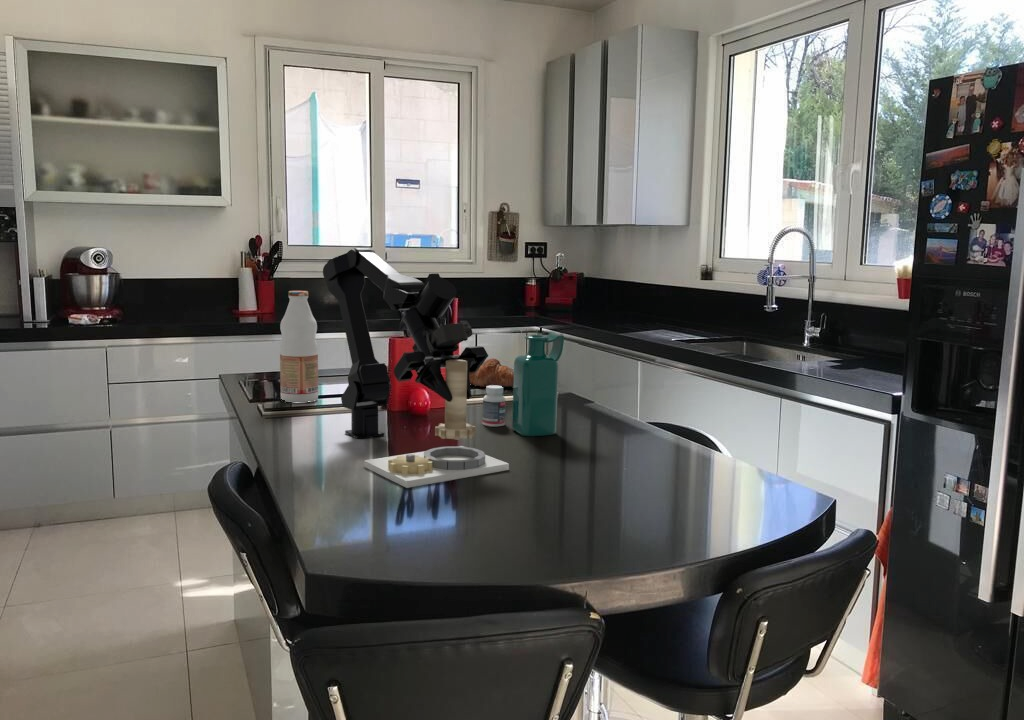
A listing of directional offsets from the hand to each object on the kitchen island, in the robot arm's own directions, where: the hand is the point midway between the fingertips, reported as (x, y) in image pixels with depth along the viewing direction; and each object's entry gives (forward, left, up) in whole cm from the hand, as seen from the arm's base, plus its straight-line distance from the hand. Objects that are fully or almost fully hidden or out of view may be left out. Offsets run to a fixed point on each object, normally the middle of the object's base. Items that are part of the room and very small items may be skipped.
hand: (460, 399), depth 162 cm
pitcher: (-17, +32, -14) cm, 38 cm away
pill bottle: (-28, +28, -14) cm, 42 cm away
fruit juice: (-76, +1, -14) cm, 77 cm away
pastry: (-71, +57, -14) cm, 92 cm away
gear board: (-3, -3, -13) cm, 14 cm away
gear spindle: (-1, 0, -7) cm, 7 cm away
